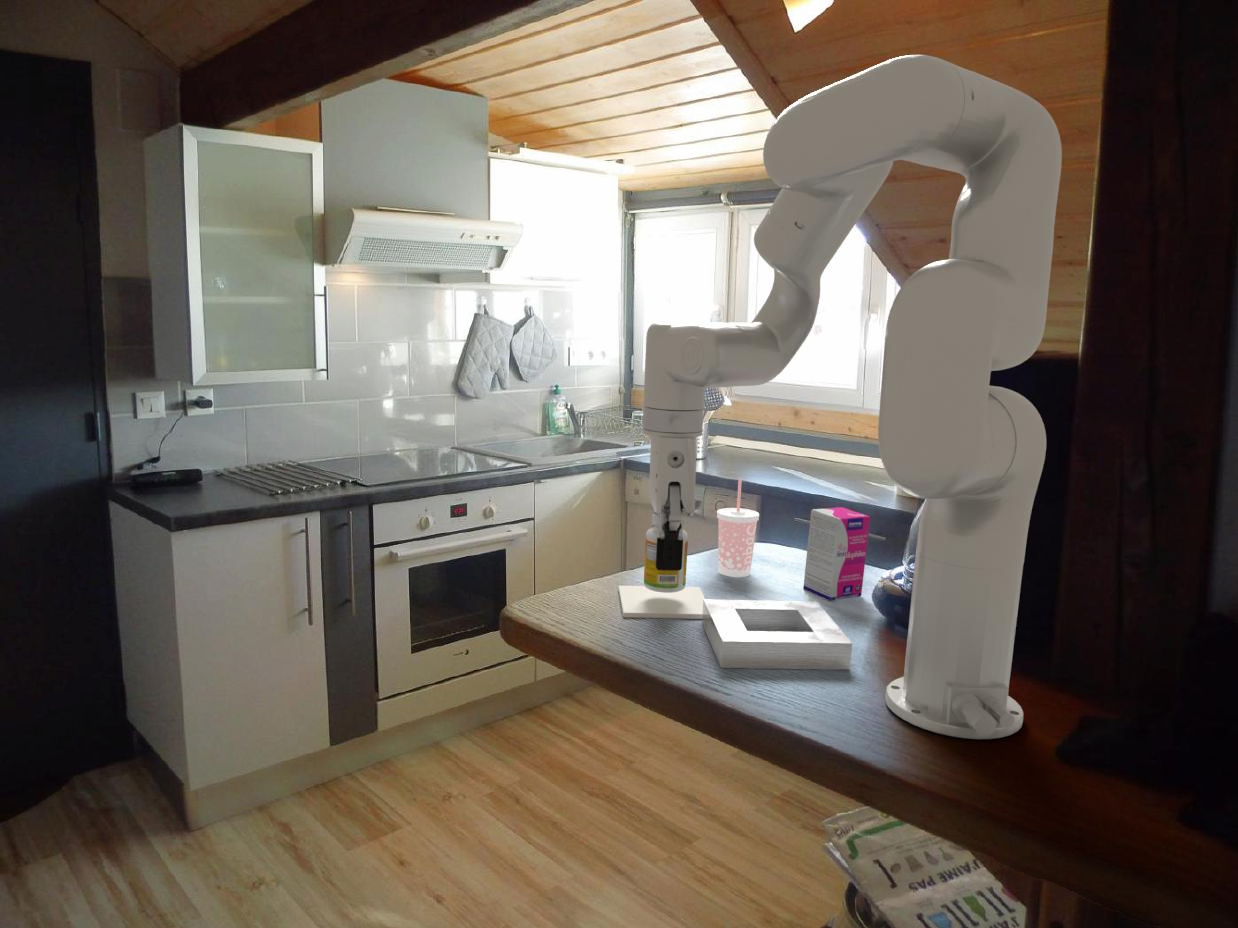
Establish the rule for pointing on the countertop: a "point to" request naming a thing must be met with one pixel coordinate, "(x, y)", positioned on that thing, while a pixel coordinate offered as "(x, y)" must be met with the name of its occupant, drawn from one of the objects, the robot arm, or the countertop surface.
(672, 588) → the supplement bottle
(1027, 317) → the robot arm
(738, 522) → the beverage cup
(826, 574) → the supplement box
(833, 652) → the concrete holder
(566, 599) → the countertop surface
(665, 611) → the plastic mat
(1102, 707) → the countertop surface
